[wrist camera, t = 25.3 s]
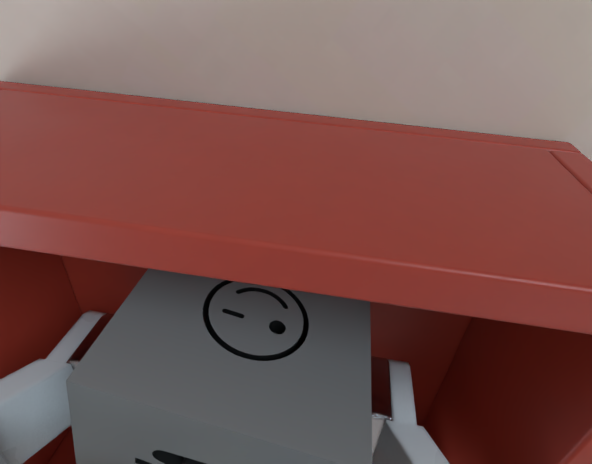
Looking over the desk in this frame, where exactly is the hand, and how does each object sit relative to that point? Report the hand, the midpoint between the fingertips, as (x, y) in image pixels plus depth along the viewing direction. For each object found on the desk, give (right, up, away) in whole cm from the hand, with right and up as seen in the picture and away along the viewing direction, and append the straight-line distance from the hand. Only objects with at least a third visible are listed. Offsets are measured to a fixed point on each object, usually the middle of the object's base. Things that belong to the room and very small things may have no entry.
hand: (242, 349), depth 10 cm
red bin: (0, +1, +2) cm, 2 cm away
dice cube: (0, +1, +1) cm, 2 cm away
